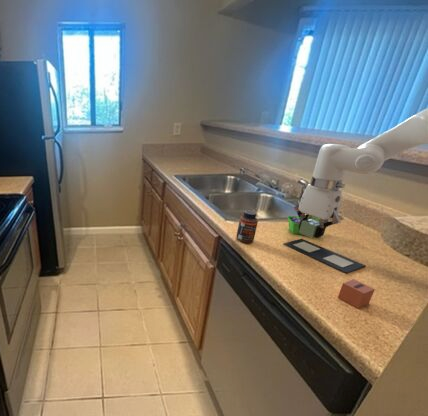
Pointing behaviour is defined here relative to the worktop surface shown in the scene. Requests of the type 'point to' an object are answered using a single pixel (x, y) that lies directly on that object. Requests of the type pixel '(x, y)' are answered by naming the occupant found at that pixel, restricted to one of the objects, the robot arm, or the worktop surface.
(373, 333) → the worktop surface
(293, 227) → the fruit basket
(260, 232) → the worktop surface
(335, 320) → the worktop surface
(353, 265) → the word mat
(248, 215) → the supplement bottle
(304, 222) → the block
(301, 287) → the worktop surface
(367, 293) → the block
